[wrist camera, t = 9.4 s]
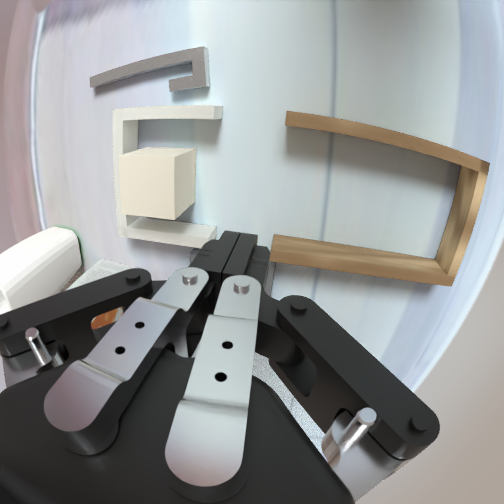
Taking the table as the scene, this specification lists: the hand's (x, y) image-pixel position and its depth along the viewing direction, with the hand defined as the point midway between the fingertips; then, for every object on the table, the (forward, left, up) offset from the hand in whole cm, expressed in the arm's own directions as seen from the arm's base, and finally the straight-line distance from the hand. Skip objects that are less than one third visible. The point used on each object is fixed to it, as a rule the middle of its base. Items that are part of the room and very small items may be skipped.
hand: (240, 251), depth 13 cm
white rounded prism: (+11, -27, -16) cm, 33 cm away
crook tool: (-10, -13, -15) cm, 22 cm away
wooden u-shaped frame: (0, +10, -15) cm, 18 cm away
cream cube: (0, -10, -15) cm, 18 cm away
